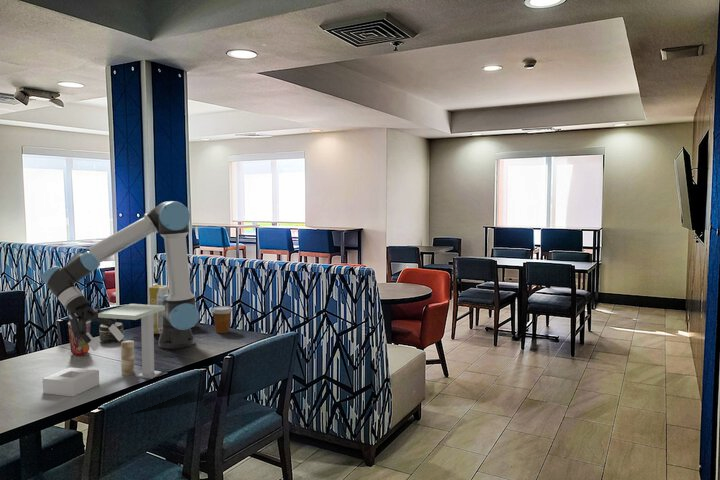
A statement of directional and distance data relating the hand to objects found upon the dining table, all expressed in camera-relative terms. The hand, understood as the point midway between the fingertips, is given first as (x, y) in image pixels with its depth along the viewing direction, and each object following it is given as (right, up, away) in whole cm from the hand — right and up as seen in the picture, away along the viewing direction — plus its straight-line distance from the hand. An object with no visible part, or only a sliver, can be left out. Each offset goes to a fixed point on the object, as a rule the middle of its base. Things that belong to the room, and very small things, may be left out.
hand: (109, 343), depth 194 cm
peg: (+7, -11, 0) cm, 13 cm away
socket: (-5, -12, -16) cm, 21 cm away
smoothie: (-24, -9, +23) cm, 34 cm away
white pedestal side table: (+10, -11, -1) cm, 15 cm away
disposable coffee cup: (+25, -7, +63) cm, 69 cm away
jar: (-21, -8, +44) cm, 49 cm away
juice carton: (-5, -7, +61) cm, 62 cm away
